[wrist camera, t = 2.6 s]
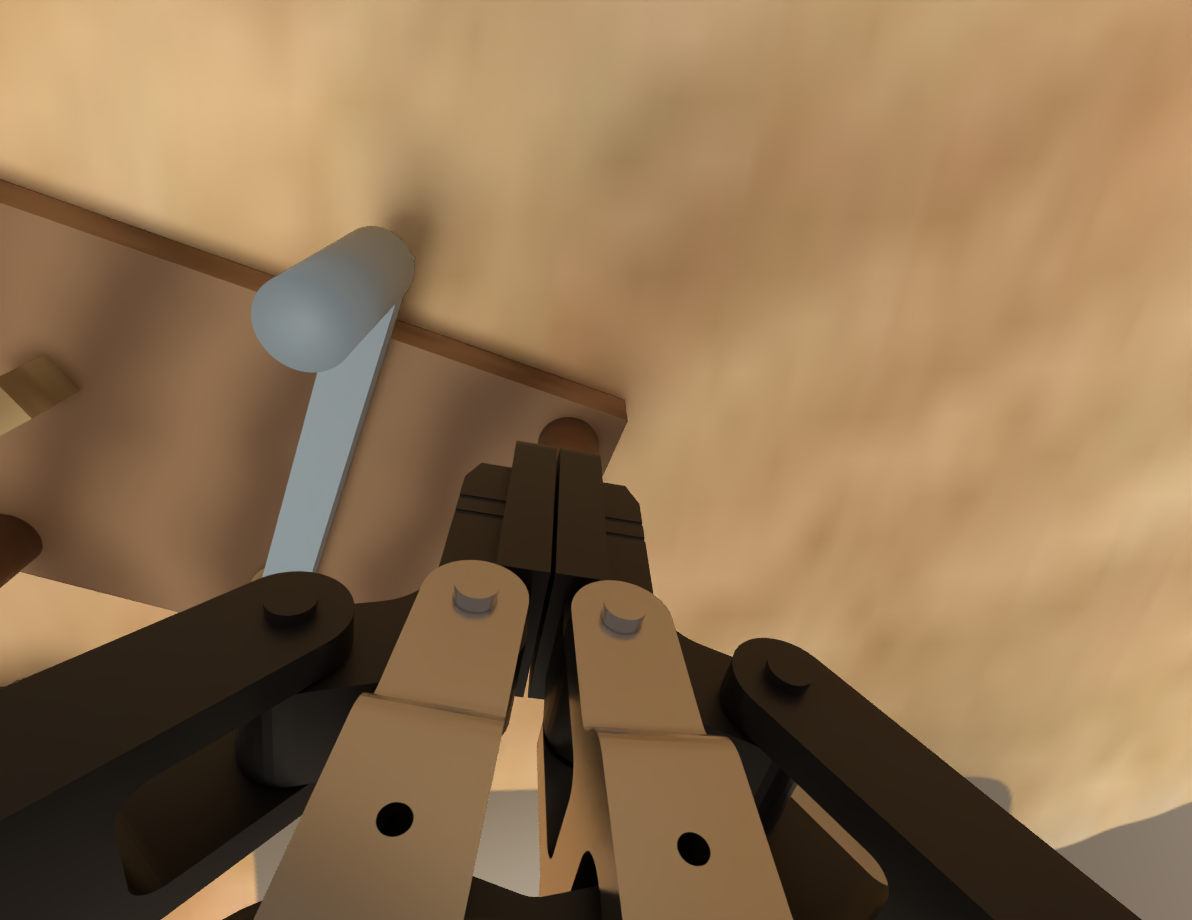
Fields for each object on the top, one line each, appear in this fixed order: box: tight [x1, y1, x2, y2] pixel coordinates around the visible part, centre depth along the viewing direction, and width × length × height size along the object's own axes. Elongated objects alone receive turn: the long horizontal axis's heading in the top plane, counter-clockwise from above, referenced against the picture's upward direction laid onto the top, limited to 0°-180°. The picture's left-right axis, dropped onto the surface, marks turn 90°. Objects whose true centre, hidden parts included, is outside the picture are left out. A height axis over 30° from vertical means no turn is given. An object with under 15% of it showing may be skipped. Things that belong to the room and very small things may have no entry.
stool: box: [0, 180, 628, 612], centre depth 25 cm, size 24×16×10 cm, turn 69°
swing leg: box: [251, 226, 416, 577], centre depth 23 cm, size 18×3×8 cm, turn 156°
